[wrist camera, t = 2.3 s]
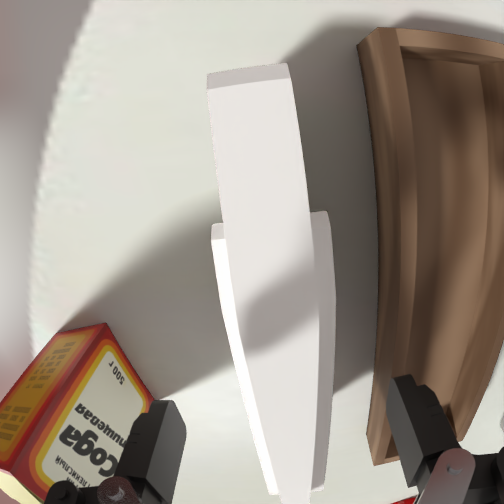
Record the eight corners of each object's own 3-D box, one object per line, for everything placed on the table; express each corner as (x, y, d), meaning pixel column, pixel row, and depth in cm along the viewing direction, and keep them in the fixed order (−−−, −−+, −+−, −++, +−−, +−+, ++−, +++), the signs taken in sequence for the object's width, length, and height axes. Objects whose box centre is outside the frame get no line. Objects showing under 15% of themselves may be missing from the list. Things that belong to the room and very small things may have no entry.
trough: (481, 54, 15) (517, 47, 11) (449, 412, 27) (462, 440, 23) (356, 45, 16) (377, 27, 12) (366, 434, 29) (373, 466, 25)
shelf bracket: (264, 414, 28) (254, 521, 15) (225, 130, 24) (177, 75, 11) (322, 409, 27) (339, 515, 15) (297, 121, 23) (315, 56, 11)
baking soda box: (155, 401, 28) (106, 547, 13) (105, 404, 29) (48, 527, 14) (106, 322, 25) (6, 476, 10) (56, 333, 26) (-38, 456, 11)
